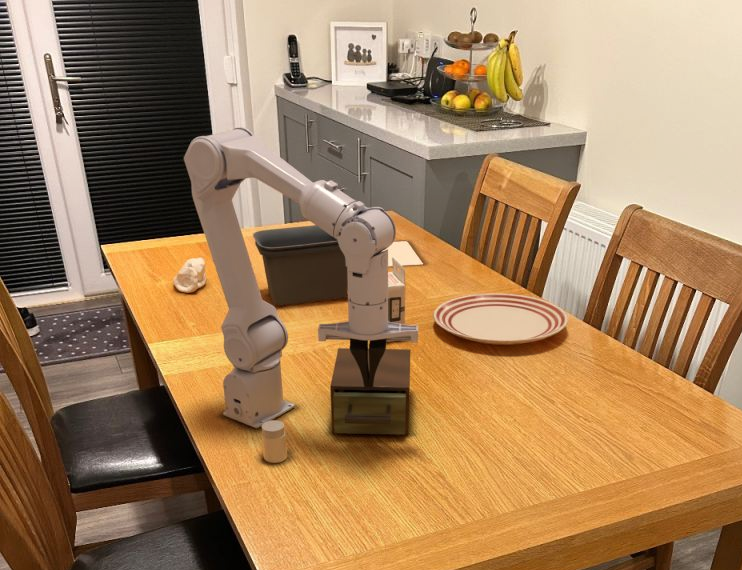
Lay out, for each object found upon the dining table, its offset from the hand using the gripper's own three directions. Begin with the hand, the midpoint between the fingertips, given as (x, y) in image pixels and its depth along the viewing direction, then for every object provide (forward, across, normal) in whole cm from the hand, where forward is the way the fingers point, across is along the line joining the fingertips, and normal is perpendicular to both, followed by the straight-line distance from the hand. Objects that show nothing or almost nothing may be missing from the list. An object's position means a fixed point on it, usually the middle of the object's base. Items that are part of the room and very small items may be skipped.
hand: (368, 384), depth 121 cm
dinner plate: (+10, -24, -47) cm, 54 cm away
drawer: (+9, 0, -6) cm, 11 cm away
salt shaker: (+10, +14, +5) cm, 18 cm away
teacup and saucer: (+10, +3, -96) cm, 97 cm away
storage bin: (+10, +18, -65) cm, 68 cm away
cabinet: (+10, 0, -10) cm, 14 cm away
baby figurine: (+10, +46, -70) cm, 85 cm away
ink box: (+10, -1, -44) cm, 45 cm away
